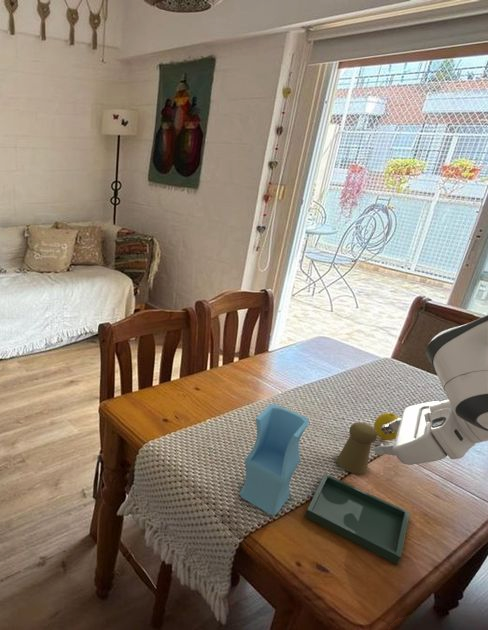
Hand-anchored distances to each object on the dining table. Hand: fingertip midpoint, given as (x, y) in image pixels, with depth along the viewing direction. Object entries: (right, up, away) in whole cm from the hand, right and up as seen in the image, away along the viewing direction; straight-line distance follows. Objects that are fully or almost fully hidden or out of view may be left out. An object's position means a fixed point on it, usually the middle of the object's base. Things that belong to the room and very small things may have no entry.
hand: (379, 440), depth 97 cm
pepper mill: (-2, -8, +6) cm, 10 cm away
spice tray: (-11, -13, -8) cm, 19 cm away
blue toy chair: (-27, -11, -3) cm, 30 cm away
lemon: (+11, -4, +15) cm, 19 cm away
